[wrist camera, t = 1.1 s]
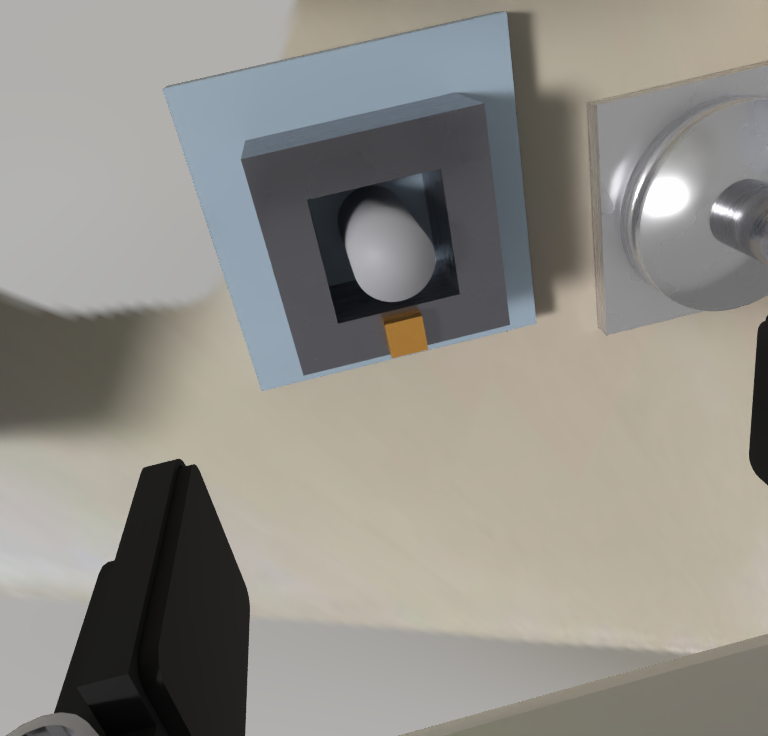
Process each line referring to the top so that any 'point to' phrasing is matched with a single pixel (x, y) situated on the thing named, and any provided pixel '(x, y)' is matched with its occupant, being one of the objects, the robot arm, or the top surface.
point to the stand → (361, 205)
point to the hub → (680, 198)
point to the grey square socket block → (367, 167)
